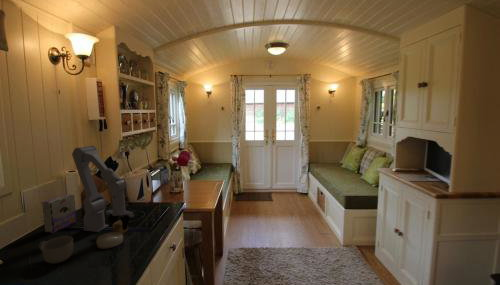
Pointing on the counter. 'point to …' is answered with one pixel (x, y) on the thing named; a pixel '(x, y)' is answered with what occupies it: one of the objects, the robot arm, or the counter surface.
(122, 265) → the counter surface
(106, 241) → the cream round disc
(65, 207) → the candy box
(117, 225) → the oak cube
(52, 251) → the teacup
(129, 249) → the counter surface
